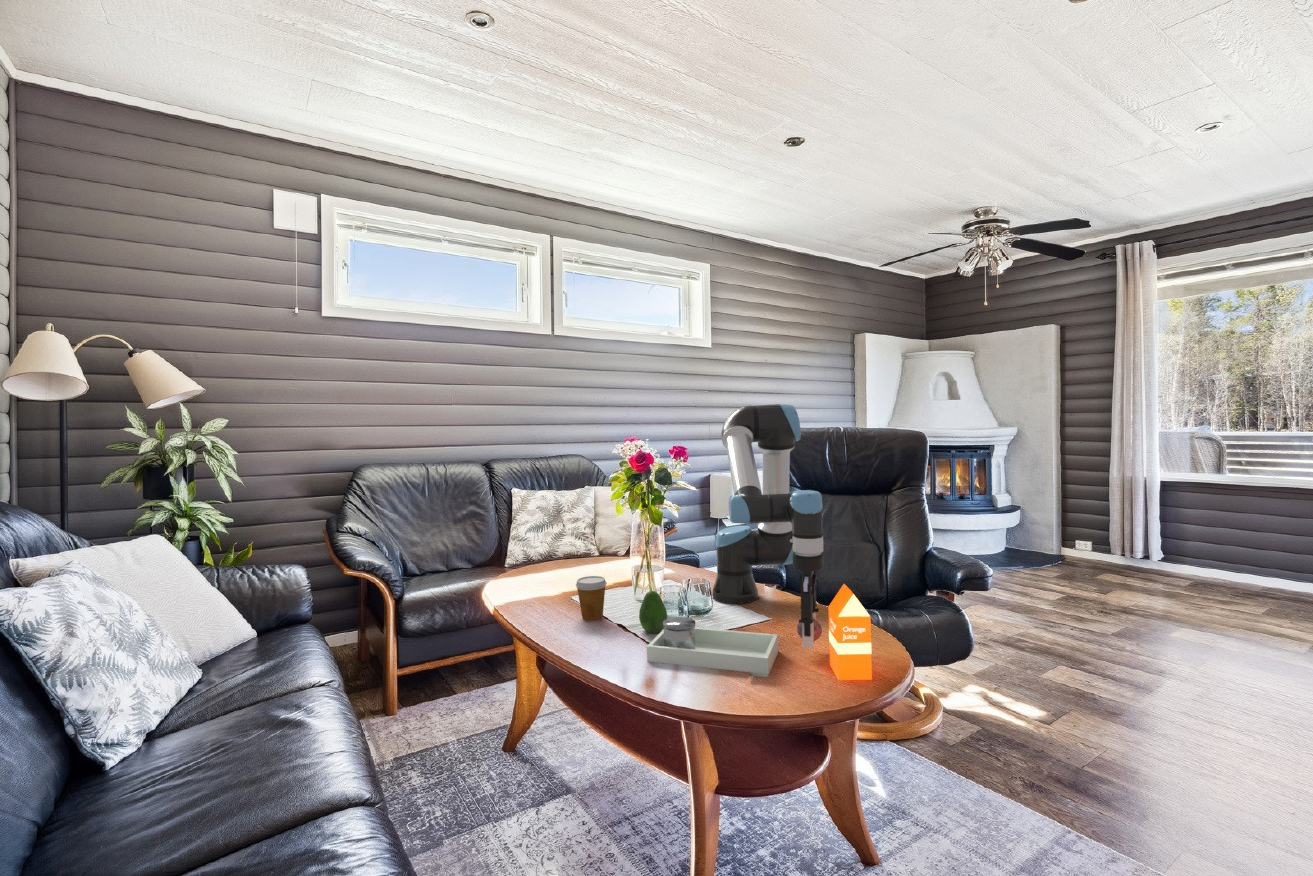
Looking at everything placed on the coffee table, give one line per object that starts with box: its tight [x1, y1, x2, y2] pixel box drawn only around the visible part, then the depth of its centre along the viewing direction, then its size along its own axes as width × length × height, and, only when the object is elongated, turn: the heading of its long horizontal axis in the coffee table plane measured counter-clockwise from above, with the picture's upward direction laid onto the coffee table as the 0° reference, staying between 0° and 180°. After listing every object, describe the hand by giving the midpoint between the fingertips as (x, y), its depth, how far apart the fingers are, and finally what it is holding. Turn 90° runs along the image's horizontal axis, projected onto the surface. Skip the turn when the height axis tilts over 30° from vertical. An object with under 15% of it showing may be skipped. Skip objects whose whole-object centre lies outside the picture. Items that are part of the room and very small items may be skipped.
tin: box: [663, 616, 696, 649], centre depth 160 cm, size 8×8×8 cm
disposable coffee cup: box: [575, 575, 607, 622], centre depth 192 cm, size 10×10×12 cm
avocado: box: [638, 590, 668, 634], centre depth 176 cm, size 8×8×12 cm
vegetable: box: [796, 618, 823, 642], centre depth 157 cm, size 6×6×10 cm
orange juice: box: [828, 583, 873, 681], centre depth 146 cm, size 8×9×20 cm
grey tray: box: [646, 627, 780, 678], centre depth 157 cm, size 16×30×4 cm, turn 70°
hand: (809, 642), depth 158 cm, fingers closed on vegetable, 6 cm apart
